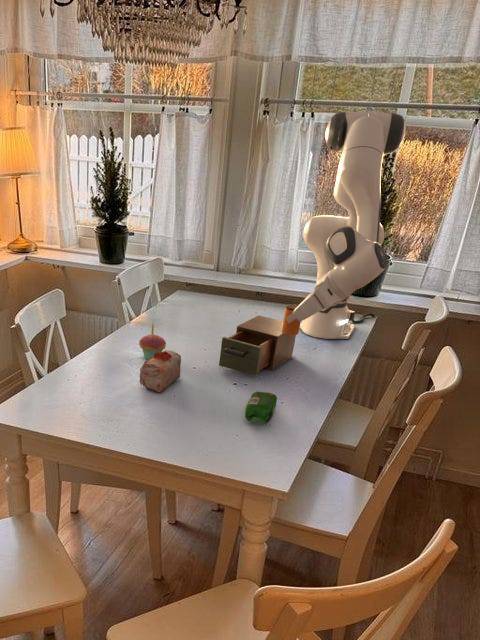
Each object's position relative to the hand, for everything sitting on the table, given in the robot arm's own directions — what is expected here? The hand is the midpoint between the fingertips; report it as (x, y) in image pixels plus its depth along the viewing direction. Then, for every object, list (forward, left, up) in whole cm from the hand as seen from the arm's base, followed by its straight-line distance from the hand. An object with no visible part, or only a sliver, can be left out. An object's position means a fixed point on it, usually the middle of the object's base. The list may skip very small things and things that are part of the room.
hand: (290, 317), depth 192 cm
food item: (+33, -23, -17) cm, 43 cm away
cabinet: (-7, -10, -17) cm, 21 cm away
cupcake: (+17, -37, -17) cm, 44 cm away
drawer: (+5, -10, -16) cm, 20 cm away
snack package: (+33, +9, -17) cm, 38 cm away
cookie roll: (0, +1, -4) cm, 4 cm away
